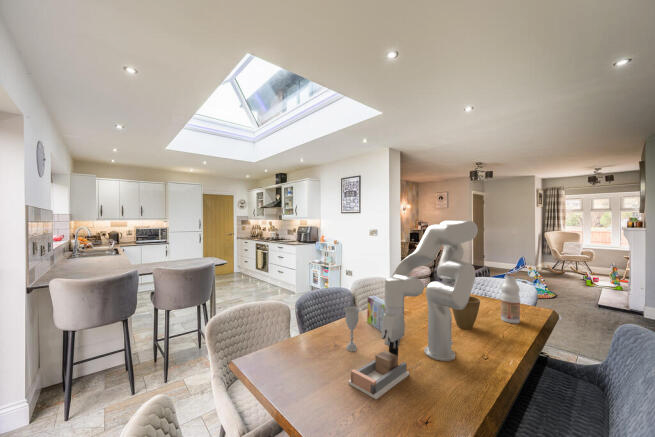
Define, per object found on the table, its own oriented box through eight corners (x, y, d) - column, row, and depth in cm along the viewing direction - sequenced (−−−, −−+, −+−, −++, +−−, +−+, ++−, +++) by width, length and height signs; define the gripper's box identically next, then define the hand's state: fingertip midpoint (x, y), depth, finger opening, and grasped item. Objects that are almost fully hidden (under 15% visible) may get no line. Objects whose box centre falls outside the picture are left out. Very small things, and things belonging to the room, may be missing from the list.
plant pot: (477, 334, 142) (477, 303, 142) (447, 327, 151) (447, 298, 151) (482, 326, 154) (482, 297, 154) (453, 320, 163) (453, 293, 163)
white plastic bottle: (498, 320, 163) (499, 273, 163) (503, 317, 170) (503, 271, 170) (517, 325, 156) (517, 275, 157) (521, 321, 163) (521, 273, 163)
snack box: (396, 335, 141) (396, 305, 141) (387, 336, 139) (387, 306, 139) (374, 321, 161) (375, 295, 161) (366, 322, 159) (366, 296, 159)
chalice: (341, 346, 127) (341, 307, 128) (354, 344, 130) (355, 305, 130) (348, 353, 121) (348, 312, 121) (362, 350, 123) (362, 310, 123)
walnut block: (384, 365, 108) (384, 350, 109) (397, 371, 104) (397, 355, 104) (375, 371, 104) (375, 355, 104) (388, 377, 100) (389, 361, 100)
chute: (382, 362, 113) (382, 350, 113) (408, 374, 104) (409, 361, 104) (348, 383, 98) (348, 369, 98) (376, 399, 90) (376, 383, 90)
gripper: (396, 303, 116) (395, 347, 116) (375, 311, 106) (374, 359, 105) (412, 308, 111) (411, 354, 110) (391, 316, 100) (391, 367, 100)
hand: (393, 356), depth 108 cm, fingers closed
